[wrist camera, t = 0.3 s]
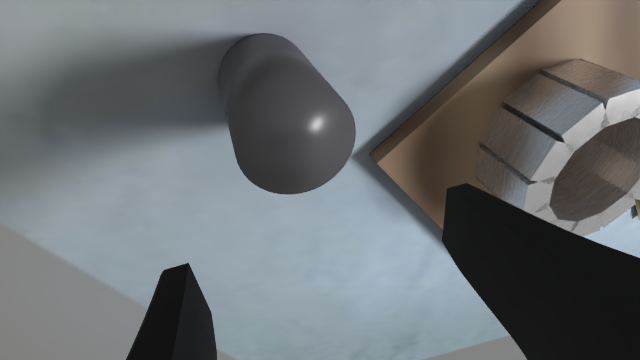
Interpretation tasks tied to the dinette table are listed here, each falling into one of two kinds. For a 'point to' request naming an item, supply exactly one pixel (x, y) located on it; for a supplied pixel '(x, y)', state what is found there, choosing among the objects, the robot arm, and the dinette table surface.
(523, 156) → the white faceted ring
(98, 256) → the dinette table surface
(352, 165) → the dinette table surface
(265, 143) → the dark rounded capsule
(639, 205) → the condiment
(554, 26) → the walnut board
